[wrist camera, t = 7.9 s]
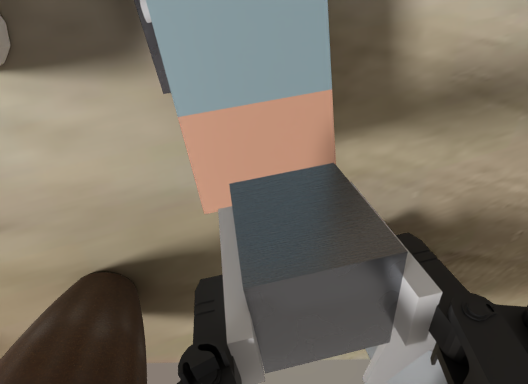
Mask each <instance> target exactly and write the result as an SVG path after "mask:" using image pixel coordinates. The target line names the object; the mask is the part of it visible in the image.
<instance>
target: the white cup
mask: <svg viewBox="0 0 528 384" xmlns="http://www.w3.org/2000/svg"><path fill="white" fill-rule="evenodd" d="M10 46H11V45H10V40H9V35H8V30H7V26H6V23H5V21H4V20H3V18H2V16H1V15H0V66H1V65H2V64H4V63H5V61H6V58H7V55H8V52H9V49H10Z"/></svg>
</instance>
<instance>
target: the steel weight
mask: <svg viewBox="0 0 528 384" xmlns="http://www.w3.org/2000/svg"><path fill="white" fill-rule="evenodd" d="M229 186H230V194H231V202H232V209H233V217H234V224H235V232H236V239H237V247H238V255H239V262H240V270H241V277H242V285H243V291H244V295H245V298H246V302H247V306H248V310H249V312H250V315H251V319H252V323H253V327H254V331H255V335H256V338H257V342H258V346H259V350H260V354H261V358H262V363H263V366H264V370H265V373H269V372H273V371H277V370H281V369H285V368H289V367H293V366H297V365H301V364H305V363H309V362H313V361H317V360H321V359H325V358H329V357H333V356H337V355H341V354H345V353H349V352H353V351H357V350H361V349H365V348H369V347H374V346H378V345H382V344H386V343H390V339H391V334H392V329H393V322H394V317H395V312H396V307H397V302H398V298H399V293H400V288H401V283H402V278H403V274H404V269H405V264H406V259H407V254H408V251H407V250H406V249H405V248H404V246H403V245H402V244H401V243H400V242H399V240H398V239H397V238H396V237H395V236H394V234H393V233H392V232H391V231H390V230H389V228H388V227H387V226H386V225H385V224H384V222H383V221H382V220H381V219H380V218H379V216H378V215H377V214H376V213H375V212H374V210H373V209H372V208H371V207H370V206H369V204H368V203H367V202H366V201H365V200H364V198H363V197H362V196H361V195H360V194H359V192H358V191H357V190H356V189H355V188H354V186H353V185H352V184H351V183H350V182H349V180H348V179H347V178H346V177H345V176H344V174H343V173H342V172H341V171H340V170H339V168H338V167H337V166H336V165H335V164H334V163H330V164H325V165H320V166H315V167H310V168H305V169H300V170H295V171H290V172H285V173H280V174H275V175H270V176H265V177H260V178H255V179H250V180H245V181H240V182H235V183H230V184H229Z"/></svg>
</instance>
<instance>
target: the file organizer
mask: <svg viewBox="0 0 528 384" xmlns="http://www.w3.org/2000/svg"><path fill="white" fill-rule="evenodd" d="M435 344H436V341H435V339H434V338H433V337H432V335H431V334H430V332H429V334H428V336H427V339H426V341H424V342H420V343H416V344H412V345H408V346H405V344H404V342H403V341H402V339H401V337H400V336H399V334H398V332H397V331H396V329H395V327H394V325H393V329H392V334H391V339H390V343H386V344H382V345H378V346H374V347H369V348H365V349H366V351H367V353H368V355H369V357H370V360H371V362H370V363H369V365H368V367H367V369H366V372H365V374H364V376H363V378H362V379H363V381H364V384H448V383H447V381H446V378H445V376H444V373H443V371H442V368H441V365H440V363H439V360H438V359H437V361H436V364H435V365H431V359H430V358H431V355H432V352H433V349H434V346H435Z"/></svg>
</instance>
